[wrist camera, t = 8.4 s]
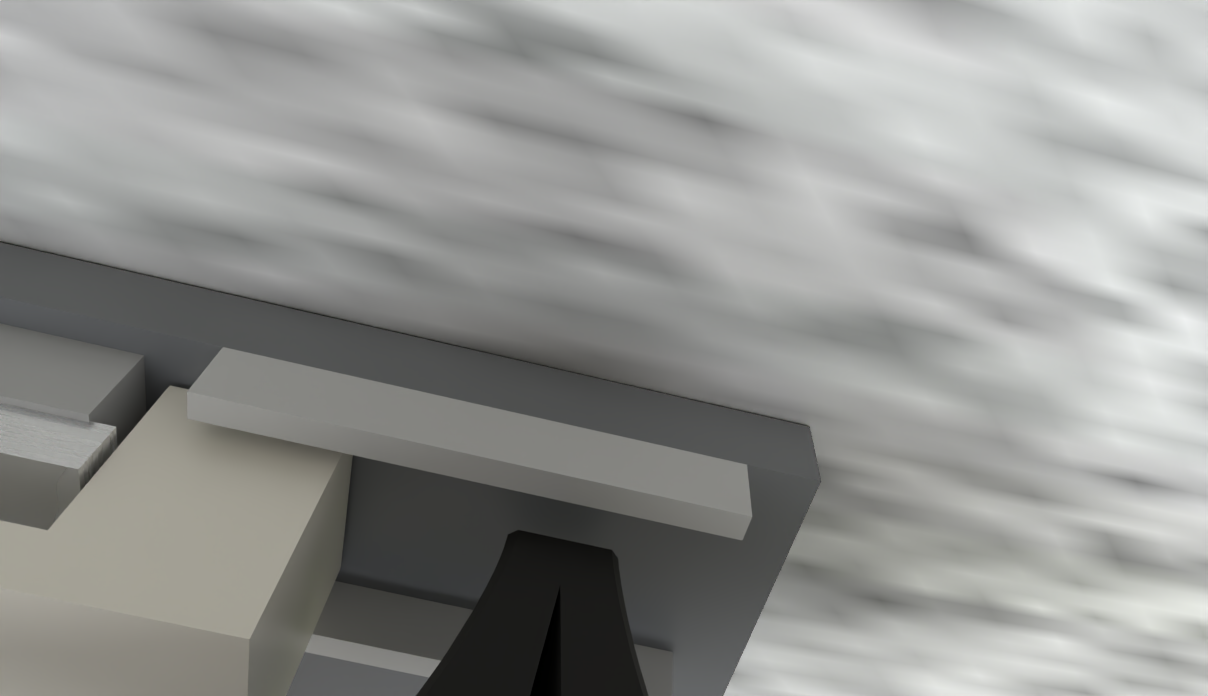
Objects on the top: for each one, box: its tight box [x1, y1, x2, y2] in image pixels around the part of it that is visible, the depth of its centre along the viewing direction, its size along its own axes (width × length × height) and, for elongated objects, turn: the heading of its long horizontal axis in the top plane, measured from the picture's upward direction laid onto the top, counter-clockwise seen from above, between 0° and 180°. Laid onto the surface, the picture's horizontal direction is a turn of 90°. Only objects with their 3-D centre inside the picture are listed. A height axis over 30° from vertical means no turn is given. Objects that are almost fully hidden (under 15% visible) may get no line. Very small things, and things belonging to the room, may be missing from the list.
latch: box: [0, 385, 353, 696], centre depth 11 cm, size 3×5×4 cm, turn 77°
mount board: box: [0, 242, 821, 696], centre depth 14 cm, size 11×18×4 cm, turn 77°
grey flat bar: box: [0, 403, 117, 530], centre depth 13 cm, size 9×3×1 cm, turn 167°
